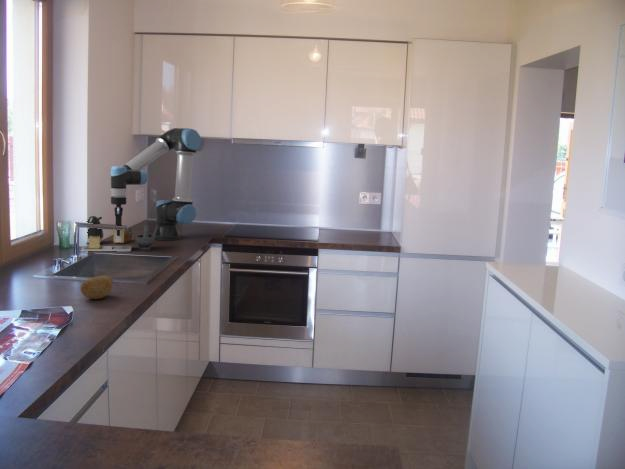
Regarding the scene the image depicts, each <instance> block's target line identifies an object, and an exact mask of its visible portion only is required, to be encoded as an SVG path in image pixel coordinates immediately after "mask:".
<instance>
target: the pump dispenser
mask: <svg viewBox="0 0 625 469" xmlns="http://www.w3.org/2000/svg"><path fill="white" fill-rule="evenodd" d="M88 218H89V219H88ZM88 218H87V220H88V221H87V220H86V222H88V223H93V224H101V225H102V223H101V221H100V220H102V219H103V217H102V216H99V217H98V216H94V215H92V216H89V217H88ZM87 233H88V239H89V236H100V243H102V241H103V240H104V230H103V228H102V229H97V228H89V229H88V232H87Z"/></svg>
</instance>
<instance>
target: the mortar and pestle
mask: <svg viewBox="0 0 625 469" xmlns="http://www.w3.org/2000/svg"><path fill="white" fill-rule="evenodd" d="M143 227H144V229H143V234H136V235H135V236H134V239H135V243H136V245H137V246H138V250H141V251H148V250H151V249H152V246H153V244H154V242H155V239H154V236H153V234H150V225H144V226H143Z"/></svg>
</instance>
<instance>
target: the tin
mask: <svg viewBox="0 0 625 469" xmlns="http://www.w3.org/2000/svg"><path fill="white" fill-rule="evenodd" d="M132 236H133V233H132V229H131V227H129V228H128V229H127V230H124V242H115V243H116V244H118V245H119V244H122V245H123V244H125V243H128V242H131V240H132Z"/></svg>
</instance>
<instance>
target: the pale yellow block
mask: <svg viewBox="0 0 625 469" xmlns="http://www.w3.org/2000/svg"><path fill="white" fill-rule="evenodd" d="M88 246H89V249H100V246H101V242H100V236H89V244H88Z"/></svg>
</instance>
